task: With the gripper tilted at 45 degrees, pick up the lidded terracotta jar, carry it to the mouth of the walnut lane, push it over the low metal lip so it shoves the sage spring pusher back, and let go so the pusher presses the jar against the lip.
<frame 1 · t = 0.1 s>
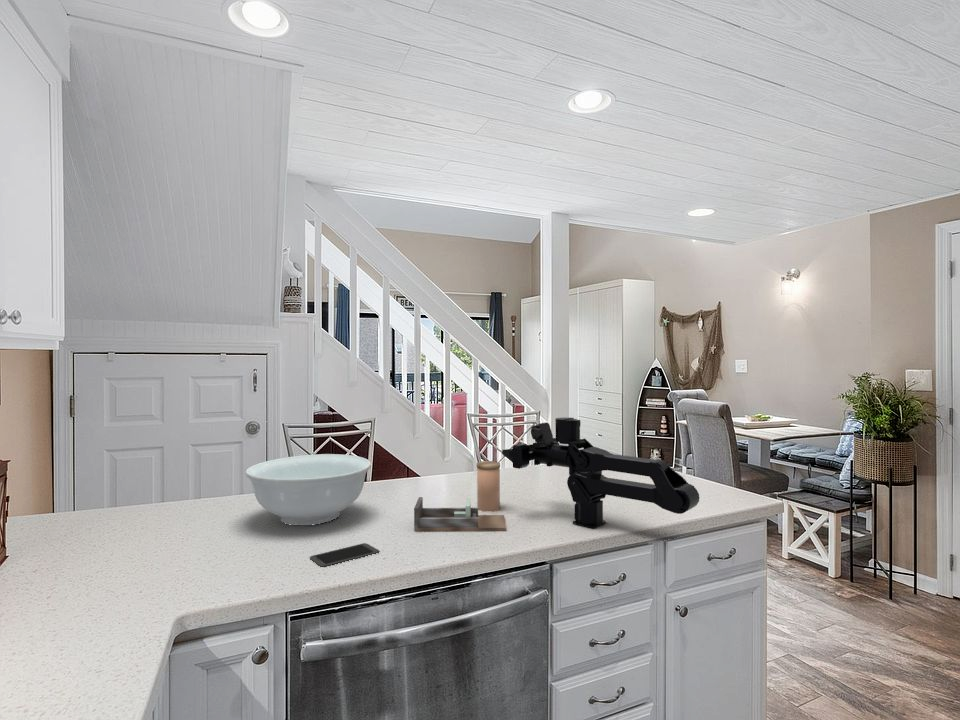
hand: (512, 449, 158), 17 cm above the counter, tool horizontal, fingers open, 9 cm apart
pusher: (462, 511, 141), point 3 cm above the counter, slide at 0.0 cm
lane: (474, 524, 141), on the counter
bowl: (310, 518, 148), on the counter
cell phone: (345, 558, 120), on the counter
jar: (488, 508, 156), on the counter
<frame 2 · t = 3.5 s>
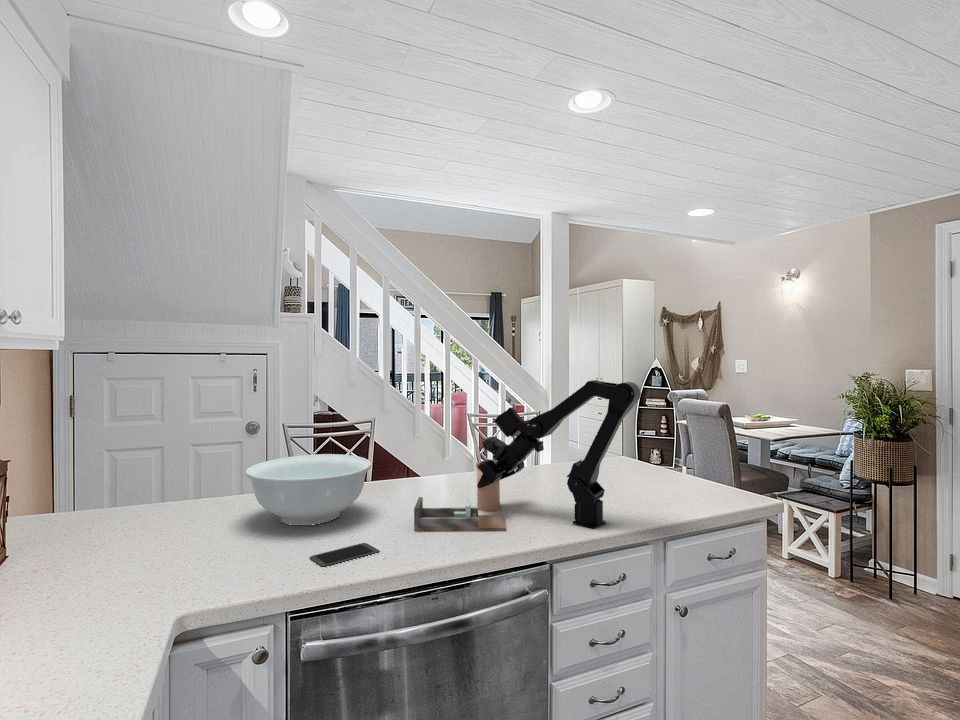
hand: (484, 484, 157), 7 cm above the counter, tool tilted 45°, fingers closed on jar, 7 cm apart
jar: (488, 508, 156), on the counter, touching gripper
everything else where it was.
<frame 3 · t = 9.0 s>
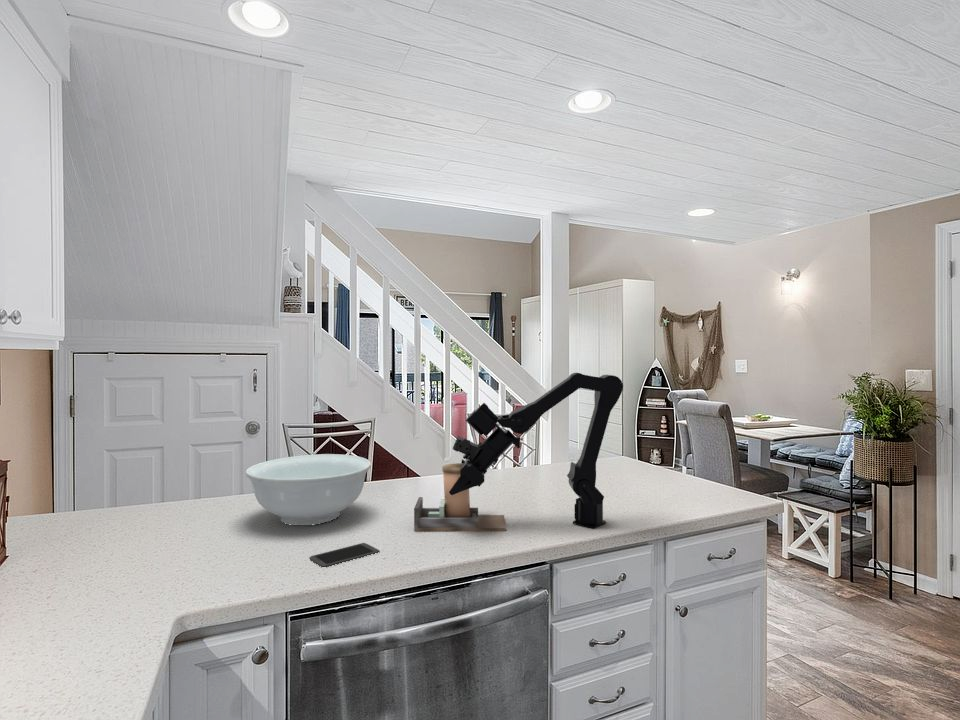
hand: (450, 490, 141), 9 cm above the counter, tool tilted 45°, fingers closed on jar, 6 cm apart
pusher: (436, 511, 141), point 3 cm above the counter, slide at 6.7 cm, touching jar
jar: (457, 515, 141), point 2 cm above the counter, touching gripper, pusher
everything else where it was.
when the fingers open (9 cm above the counter, at t = 10.1 s): jar moves 2 cm, resting on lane, pusher.
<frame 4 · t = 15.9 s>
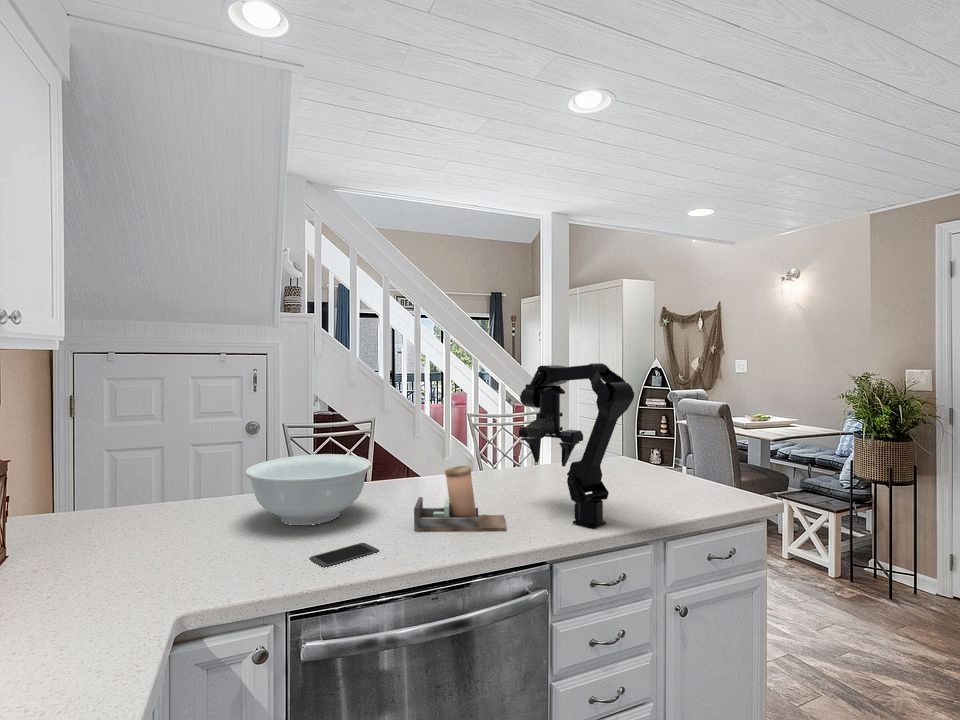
hand: (550, 464, 154), 13 cm above the counter, tool pointing down, fingers open, 9 cm apart
pusher: (441, 511, 141), point 3 cm above the counter, slide at 5.4 cm, touching jar
jar: (464, 518, 141), point 2 cm above the counter, tilted 7°, touching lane, pusher
everything else where it was.
at the end: jar 2.1 cm from the target spot on the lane, point 1.5 cm above the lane's base; pusher slide at 5.4 cm; jar tilted 7° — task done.
